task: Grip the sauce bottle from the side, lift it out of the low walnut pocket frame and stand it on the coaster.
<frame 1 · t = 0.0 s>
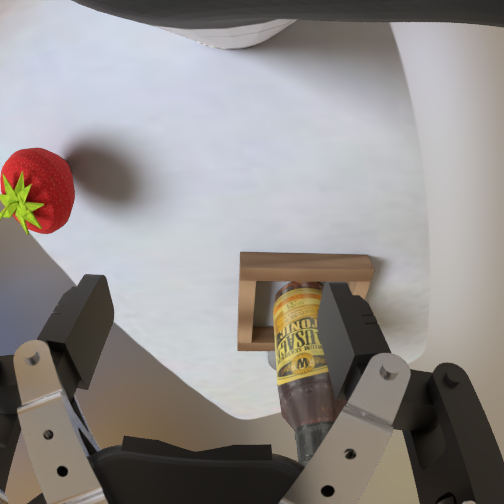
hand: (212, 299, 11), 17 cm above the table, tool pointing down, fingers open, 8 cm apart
coaster: (294, 354, 41), on the table
sauce bottle: (298, 297, 35), resting in pocket frame
strawberry: (65, 165, 25), on the table
pocket frame: (298, 298, 35), on the table
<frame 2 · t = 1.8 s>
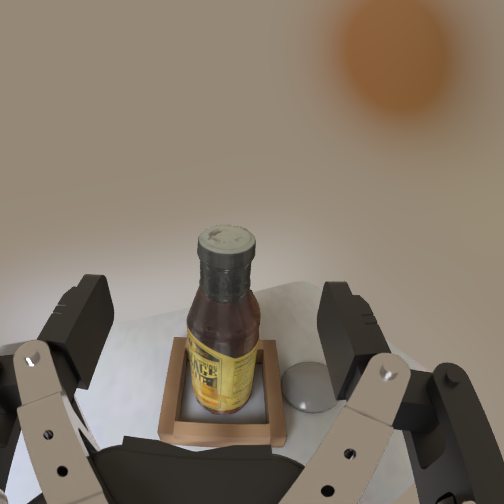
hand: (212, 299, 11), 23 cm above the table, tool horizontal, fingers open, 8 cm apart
coaster: (311, 387, 34), on the table
sauce bottle: (223, 397, 33), resting in pocket frame
pocket frame: (223, 396, 33), on the table
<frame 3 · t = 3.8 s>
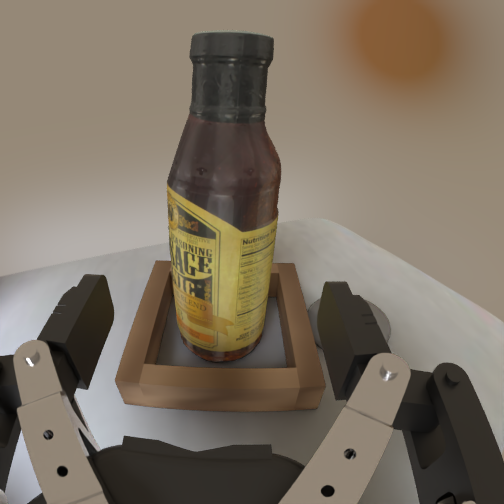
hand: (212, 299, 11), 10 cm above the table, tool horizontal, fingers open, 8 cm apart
coaster: (348, 326, 25), on the table
sauce bottle: (222, 339, 23), resting in pocket frame
pocket frame: (222, 337, 23), on the table
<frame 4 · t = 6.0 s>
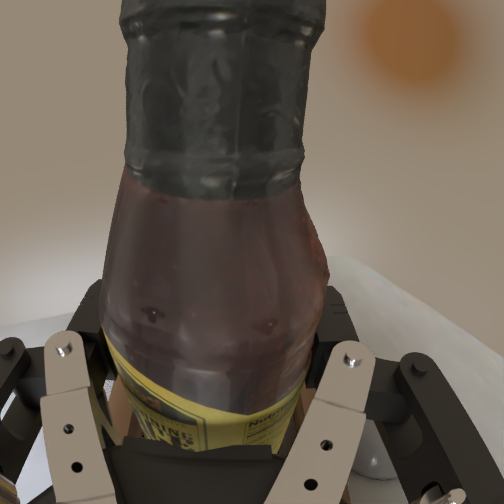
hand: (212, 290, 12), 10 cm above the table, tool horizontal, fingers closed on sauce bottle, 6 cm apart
coaster: (384, 431, 16), on the table
sauce bottle: (218, 459, 15), resting in pocket frame, touching gripper
pocket frame: (218, 458, 15), on the table
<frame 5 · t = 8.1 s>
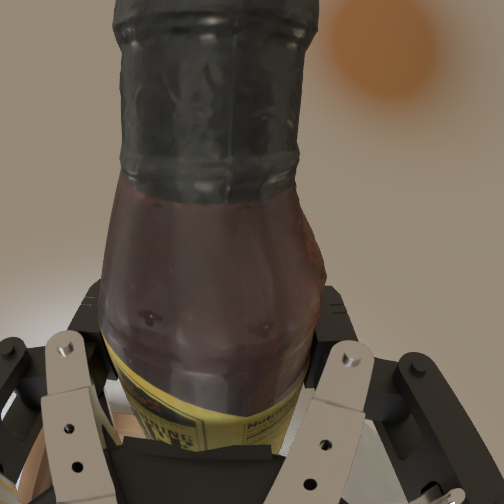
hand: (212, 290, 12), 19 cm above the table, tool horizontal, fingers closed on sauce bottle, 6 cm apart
sauce bottle: (219, 460, 15), point 8 cm above the table, touching gripper
pocket frame: (99, 486, 18), on the table
when the fingers open (12 cm above the table, at t = 10.1 s): sauce bottle drops 1 cm, resting on coaster.
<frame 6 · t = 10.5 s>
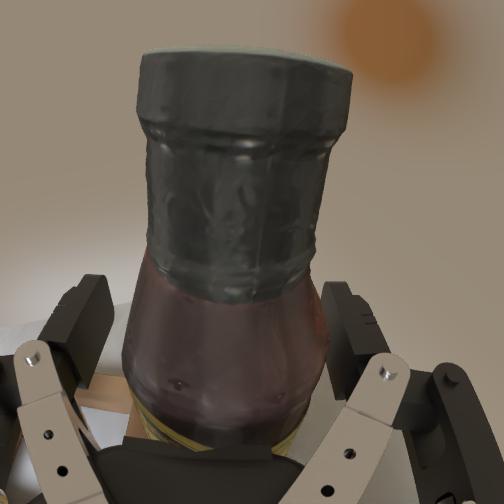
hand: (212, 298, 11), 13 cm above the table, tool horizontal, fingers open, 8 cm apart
sauce bottle: (219, 473, 16), resting on coaster
pocket frame: (68, 463, 15), on the table
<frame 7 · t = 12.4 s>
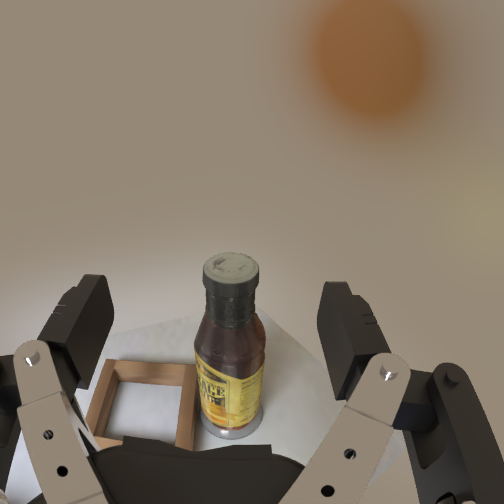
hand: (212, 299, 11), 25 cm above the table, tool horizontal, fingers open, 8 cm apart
coaster: (231, 414, 33), on the table
sauce bottle: (231, 413, 33), resting on coaster
pocket frame: (144, 416, 32), on the table
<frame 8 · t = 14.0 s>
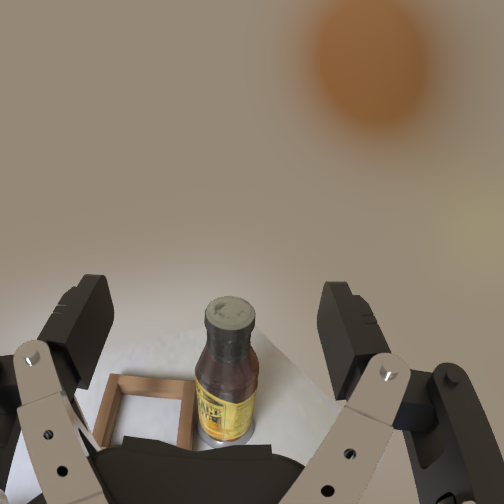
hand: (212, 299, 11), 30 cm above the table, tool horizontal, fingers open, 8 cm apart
coaster: (225, 426, 36), on the table
sauce bottle: (225, 426, 36), resting on coaster
pocket frame: (147, 427, 35), on the table
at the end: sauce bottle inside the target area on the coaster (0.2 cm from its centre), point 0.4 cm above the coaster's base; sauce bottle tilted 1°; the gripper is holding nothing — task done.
